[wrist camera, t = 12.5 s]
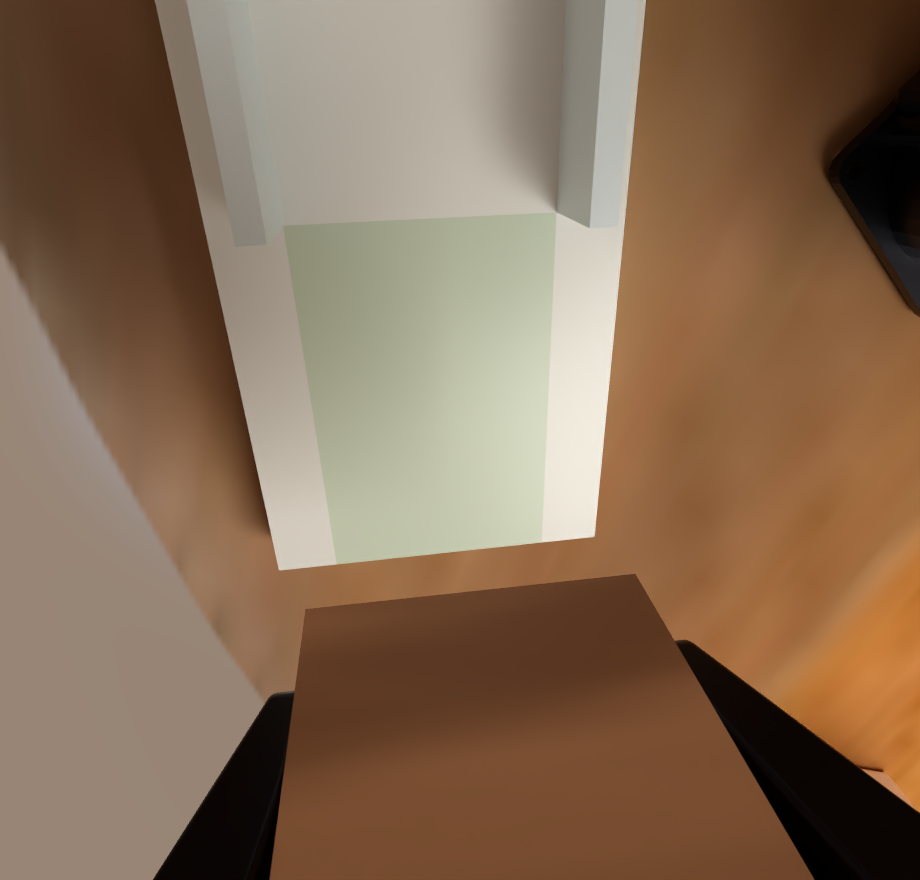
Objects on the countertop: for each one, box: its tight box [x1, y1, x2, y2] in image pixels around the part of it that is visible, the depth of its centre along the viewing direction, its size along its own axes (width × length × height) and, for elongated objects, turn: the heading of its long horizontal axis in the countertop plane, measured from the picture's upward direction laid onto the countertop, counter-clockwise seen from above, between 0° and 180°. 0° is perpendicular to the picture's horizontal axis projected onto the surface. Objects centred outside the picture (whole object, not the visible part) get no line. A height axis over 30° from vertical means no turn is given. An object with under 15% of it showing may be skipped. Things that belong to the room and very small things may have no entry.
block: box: [270, 574, 814, 880], centre depth 8 cm, size 5×5×5 cm
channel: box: [155, 0, 646, 570], centre depth 13 cm, size 24×10×4 cm, turn 2°
